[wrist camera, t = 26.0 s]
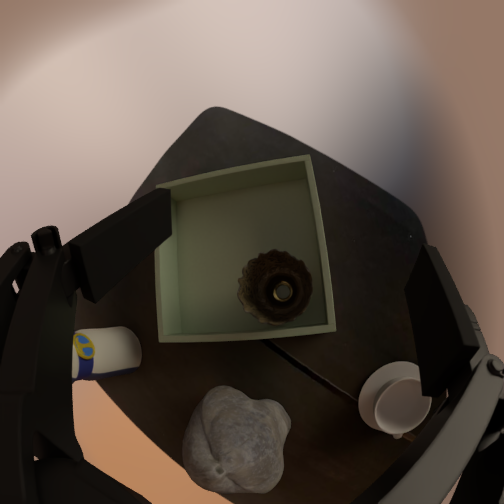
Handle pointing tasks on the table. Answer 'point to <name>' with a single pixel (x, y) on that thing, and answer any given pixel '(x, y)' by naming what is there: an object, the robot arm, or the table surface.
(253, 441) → the decorative stone
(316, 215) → the bin
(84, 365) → the white blue vase
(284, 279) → the dark brown hollow vessel
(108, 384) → the table surface
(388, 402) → the teacup
